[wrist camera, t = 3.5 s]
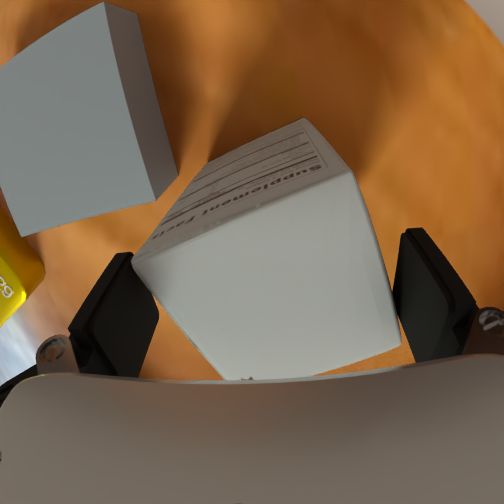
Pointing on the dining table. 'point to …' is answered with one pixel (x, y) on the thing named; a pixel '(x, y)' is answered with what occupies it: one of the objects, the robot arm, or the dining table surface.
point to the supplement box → (273, 262)
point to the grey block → (81, 123)
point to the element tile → (16, 268)
